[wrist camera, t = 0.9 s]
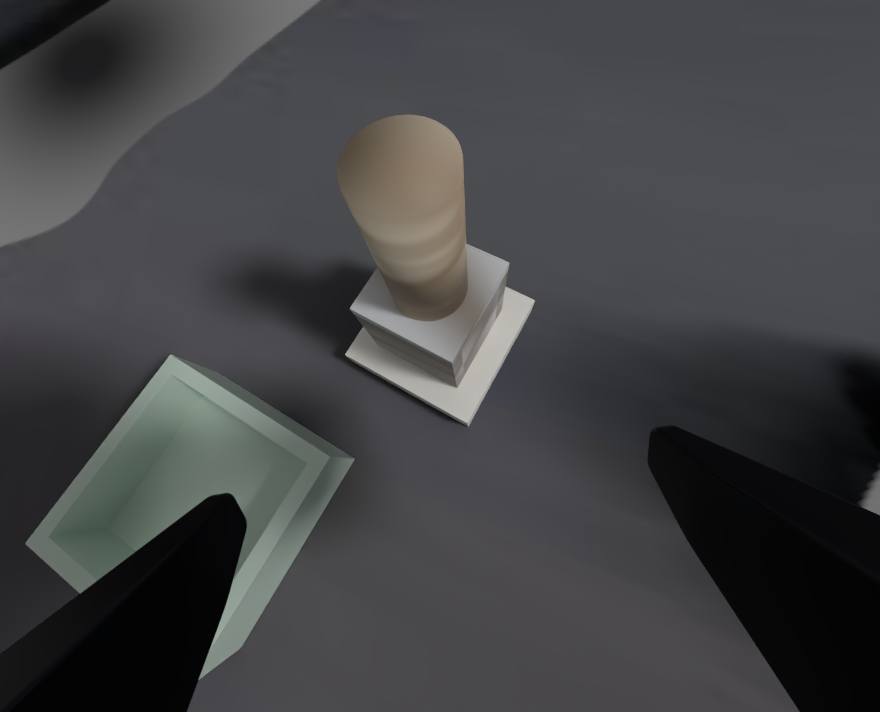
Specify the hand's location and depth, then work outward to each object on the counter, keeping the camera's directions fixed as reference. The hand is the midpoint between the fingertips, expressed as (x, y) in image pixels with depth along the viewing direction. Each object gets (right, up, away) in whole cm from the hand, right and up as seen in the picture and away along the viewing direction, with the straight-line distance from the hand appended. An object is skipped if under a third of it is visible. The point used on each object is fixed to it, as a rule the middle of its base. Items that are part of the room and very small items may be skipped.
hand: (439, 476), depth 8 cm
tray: (-12, -5, +13) cm, 19 cm away
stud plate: (0, +4, +15) cm, 15 cm away
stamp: (0, +4, +13) cm, 14 cm away
